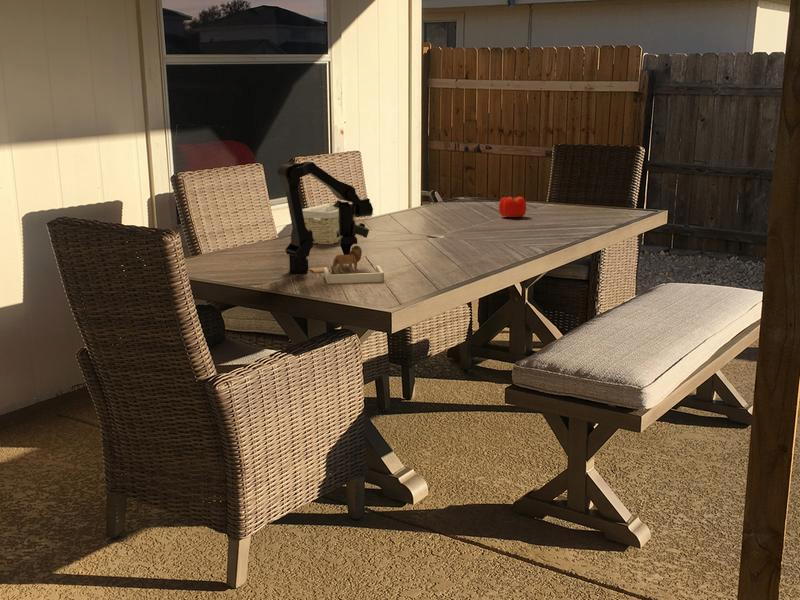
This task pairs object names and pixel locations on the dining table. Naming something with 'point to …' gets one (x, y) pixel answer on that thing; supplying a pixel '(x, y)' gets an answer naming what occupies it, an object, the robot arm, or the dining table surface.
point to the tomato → (512, 206)
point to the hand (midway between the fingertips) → (347, 259)
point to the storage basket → (323, 223)
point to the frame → (354, 277)
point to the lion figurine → (348, 259)
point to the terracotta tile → (318, 269)
